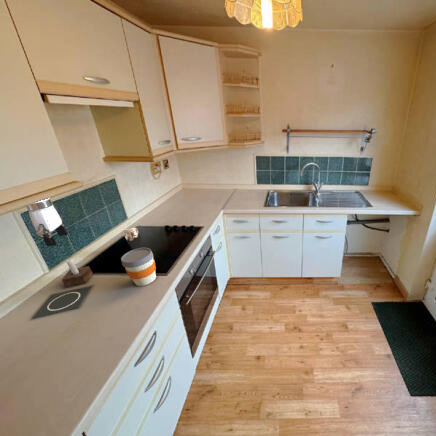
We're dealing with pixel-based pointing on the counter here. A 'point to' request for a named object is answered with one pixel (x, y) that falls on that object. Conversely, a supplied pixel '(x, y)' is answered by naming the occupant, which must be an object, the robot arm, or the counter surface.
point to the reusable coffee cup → (140, 265)
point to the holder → (77, 277)
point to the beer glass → (133, 238)
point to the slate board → (63, 302)
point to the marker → (72, 266)
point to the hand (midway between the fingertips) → (58, 240)
